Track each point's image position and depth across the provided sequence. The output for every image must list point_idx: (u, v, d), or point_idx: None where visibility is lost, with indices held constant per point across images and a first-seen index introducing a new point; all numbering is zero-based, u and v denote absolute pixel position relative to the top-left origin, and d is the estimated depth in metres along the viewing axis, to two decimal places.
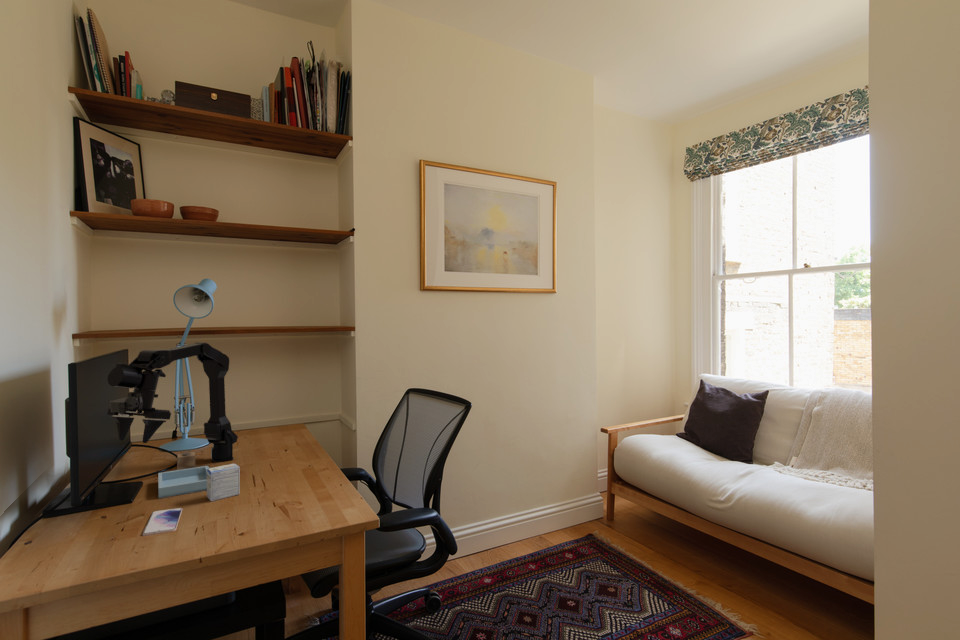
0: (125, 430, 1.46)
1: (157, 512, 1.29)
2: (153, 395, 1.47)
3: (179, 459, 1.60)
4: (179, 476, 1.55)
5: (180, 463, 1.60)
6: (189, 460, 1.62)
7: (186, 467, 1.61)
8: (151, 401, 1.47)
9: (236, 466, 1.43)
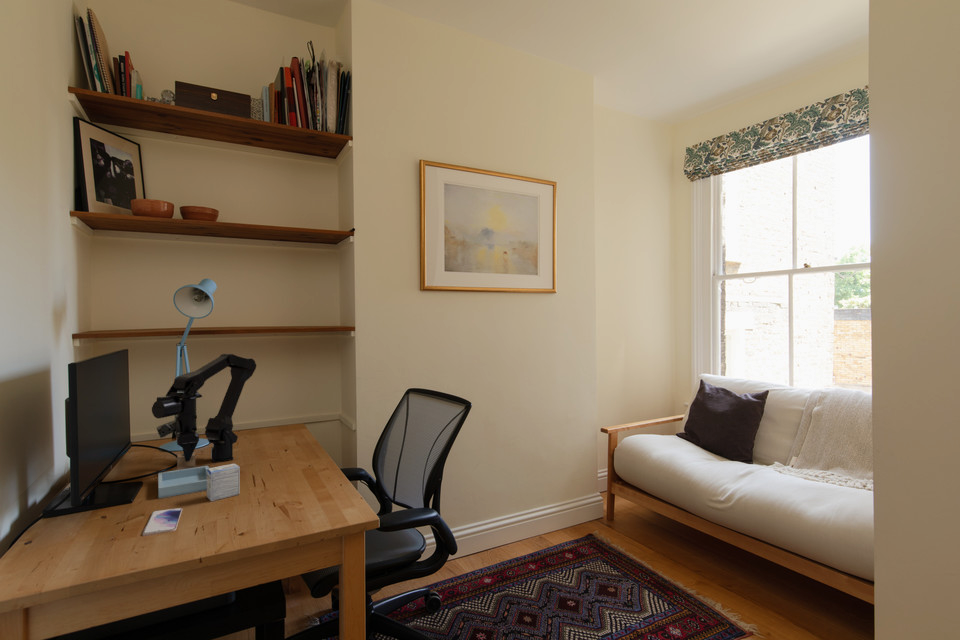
0: None
1: (157, 512, 1.29)
2: (190, 417, 1.61)
3: (179, 459, 1.60)
4: (179, 476, 1.55)
5: (180, 463, 1.60)
6: None
7: (186, 467, 1.61)
8: (189, 423, 1.61)
9: (236, 466, 1.43)
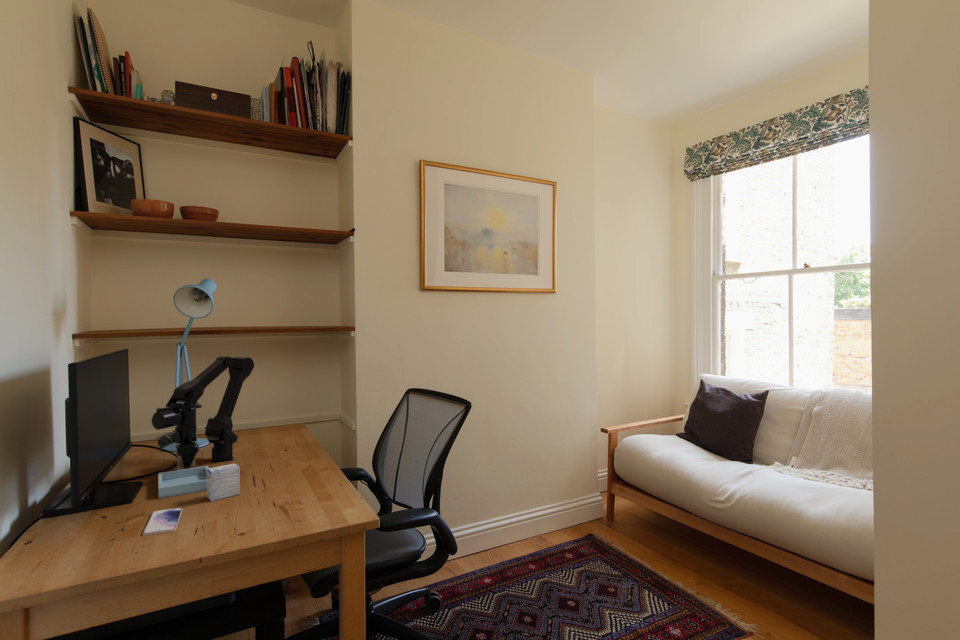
0: None
1: (157, 512, 1.29)
2: (190, 428, 1.61)
3: (179, 459, 1.60)
4: (179, 476, 1.55)
5: (180, 463, 1.60)
6: None
7: None
8: (189, 433, 1.61)
9: (236, 466, 1.43)
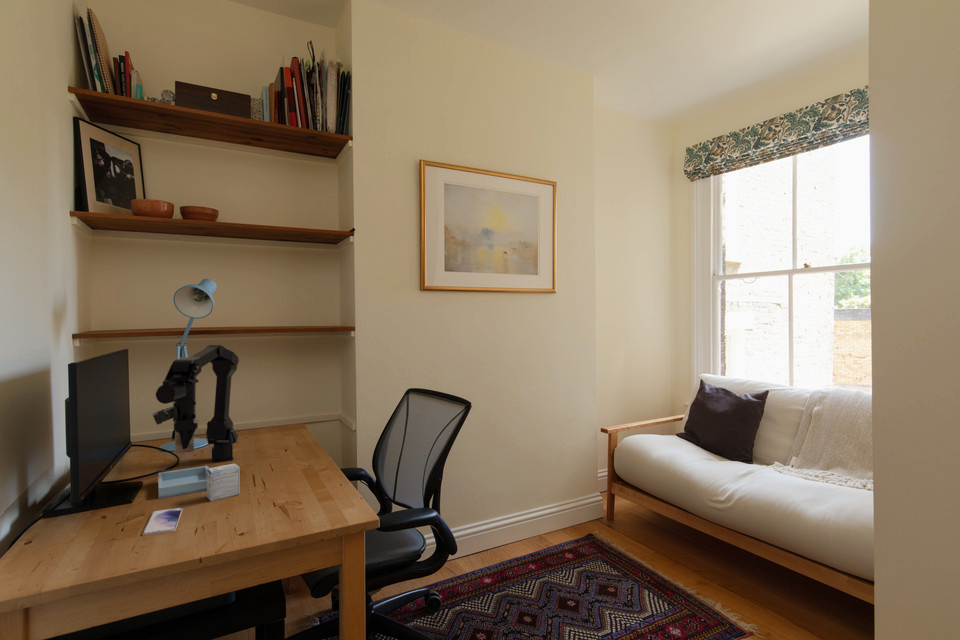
0: None
1: (157, 512, 1.29)
2: (189, 403, 1.52)
3: (177, 436, 1.50)
4: (179, 476, 1.55)
5: (178, 440, 1.50)
6: None
7: None
8: (188, 409, 1.51)
9: (236, 466, 1.43)
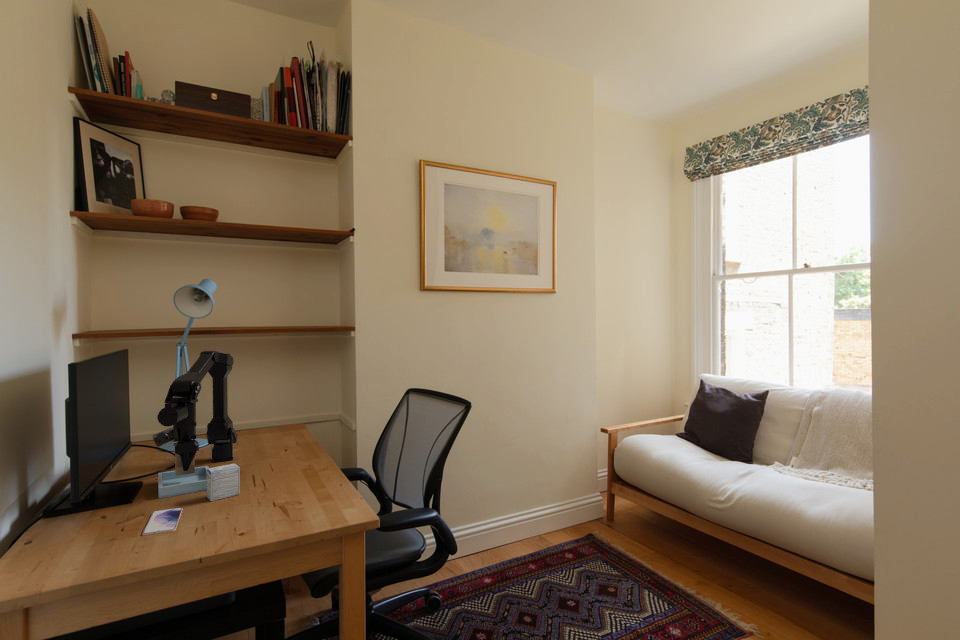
0: None
1: (157, 512, 1.29)
2: (189, 424, 1.49)
3: (177, 458, 1.47)
4: (179, 476, 1.55)
5: (178, 462, 1.47)
6: None
7: None
8: (188, 430, 1.48)
9: (236, 466, 1.43)
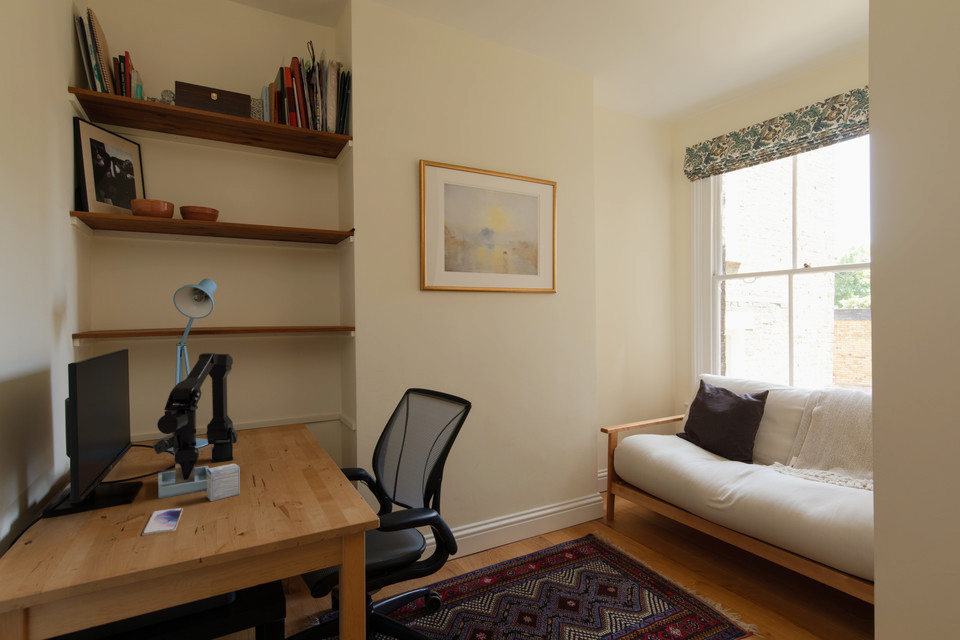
0: None
1: (157, 512, 1.29)
2: (189, 431, 1.49)
3: (177, 470, 1.47)
4: None
5: (178, 474, 1.47)
6: None
7: None
8: (188, 437, 1.48)
9: (236, 466, 1.43)
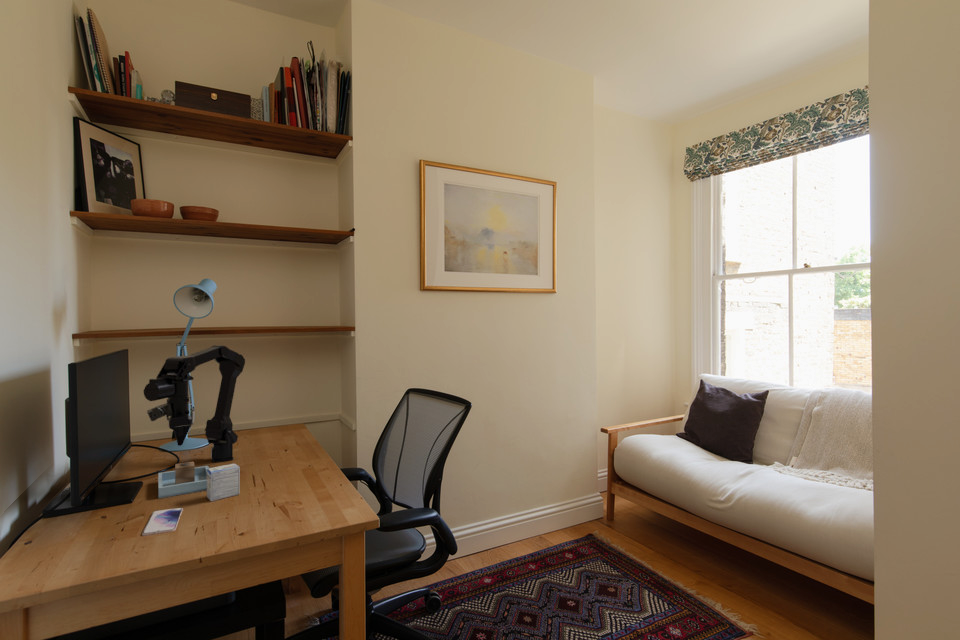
0: None
1: (157, 512, 1.29)
2: (182, 400, 1.56)
3: (177, 470, 1.47)
4: None
5: (178, 474, 1.47)
6: (188, 470, 1.49)
7: (185, 478, 1.48)
8: (181, 406, 1.56)
9: (236, 466, 1.43)
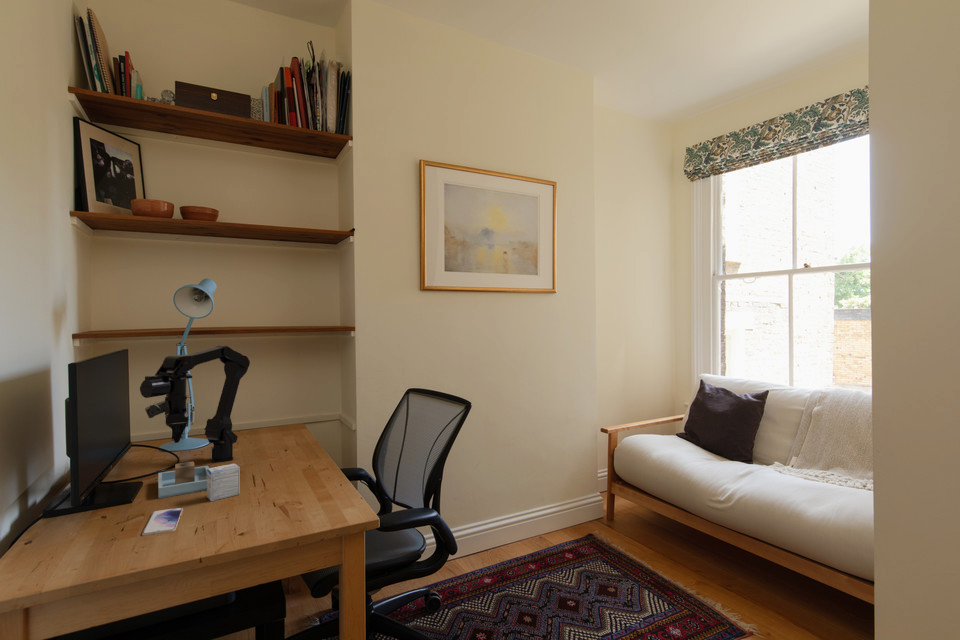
0: None
1: (157, 512, 1.29)
2: (180, 398, 1.58)
3: (177, 470, 1.47)
4: None
5: (178, 474, 1.47)
6: (188, 470, 1.49)
7: (185, 478, 1.48)
8: (179, 403, 1.58)
9: (236, 466, 1.43)
